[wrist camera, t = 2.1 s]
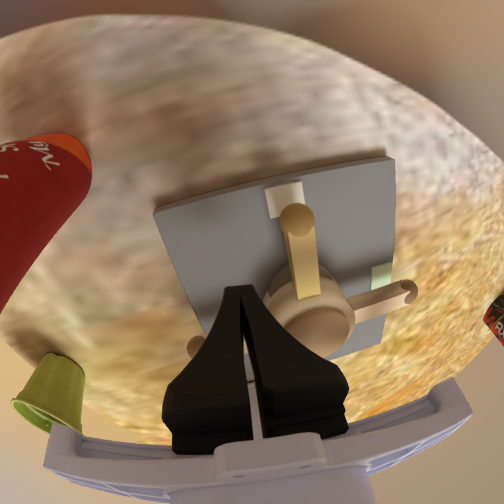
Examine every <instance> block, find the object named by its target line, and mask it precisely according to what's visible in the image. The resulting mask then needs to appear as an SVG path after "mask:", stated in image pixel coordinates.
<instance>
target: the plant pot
mask: <svg viewBox="0 0 504 504" xmlns="http://www.w3.org/2000/svg"><path fill="white" fill-rule="evenodd" d="M84 384H85V377H84V374H83V371H82V369H81V368H80V367H79V366H78V365H77V364H75V363H74V362H73V361H71V360H70V359H68V358H66V357H64V356H57V355H55V354H54V353H47V354H45V355H44V357H43V358H42V360H41V361H40V363H39V364H38V366H37V368H36V369H35V371H34V372H33V374H32V376H31V377H30V379H29V381H28V382H27V384H26V386H25V388H24V389H23V391H21V392H20V393H19V394H18V396H17V397H16V398H13V399H12V401H11V405H12V407H13V409H14V410H15V411H16V412H17V413H18V414H19V415H20V416H21V417H23V418H24V419H25V420H26V421H28V422H29V423H30V424H32V425H33V426H35V427H36V428H38V429H40V430H41V431H43V432H45V433H47V434H49V435H50V431H51V427H52V424H53V423H54V424H58V425H63V426H67V427H71V428H73V429H75V430H77V431H78V432H79V433H80V434H81V435H82V436H84V435H83V434H82V425H81V411H82V400H83V392H84Z"/></svg>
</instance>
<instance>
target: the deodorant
mask: <svg viewBox="0 0 504 504" xmlns="http://www.w3.org/2000/svg"><path fill="white" fill-rule="evenodd" d="M483 320H484V322H485V323H486V325H487V326H488V327H489V328H490V330H491V331H492V332H493V333H494V335H495V336H496V337H497V338H498V340H499V341H500V342H501V343H502V345H503V346H504V295H501V296H499V297H498V298H497V299H496V300H495V301H494V302H493V303H492V304H491V306H490V307H489V309H488V310H487V312H486V314H485V316H484V319H483Z"/></svg>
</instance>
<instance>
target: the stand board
mask: <svg viewBox="0 0 504 504" xmlns="http://www.w3.org/2000/svg"><path fill="white" fill-rule="evenodd" d="M292 203H302V204H305V205H307V206H308V207H309V208H310V209H311V210H312V212H313V214H314V217H315V224H314V229H315V238H316V247H317V257H318V263H320V264H322V265H323V266H324V267H325V268H326V269H327V271H328V272H329V274H330V275H331V276H332V277H333V278H334V279H335V280H336V282H337V284H338V285H339V287H340V289H341V290H342V292H343V294H344V295H345V297H346V299H347V298H348V297H351V296H354V295H358V294H361V293H364V292H367V291H370V290H373V289H376V288H379V287H382V286H385V285H388V284H390V281H391V272H392V261H393V249H394V233H395V204H396V182H395V159H392V158H390V157H388V156H382V157H375V158H368V159H362V160H355V161H349V162H343V163H338V164H332V165H327V166H321V167H316V168H311V169H306V170H301V171H296V172H291V173H286V174H282V175H277V176H273V177H268V178H264V179H259V180H255V181H251V182H247V183H243V184H239V185H235V186H231V187H227V188H223V189H219V190H215V191H211V192H208V193H204V194H200V195H197V196H193V197H190V198H186V199H183V200H179V201H176V202H172V203H169V204H166V205H162V206H159V207H156V209H155V210H154V212H153V216H154V219H155V222H156V224H157V227H158V229H159V232H160V234H161V237H162V239H163V242H164V244H165V247H166V249H167V252H168V254H169V256H170V259H171V261H172V263H173V266H174V268H175V270H176V273H177V275H178V277H179V280H180V282H181V284H182V286H183V288H184V291H185V293H186V295H187V297H188V299H189V302H190V304H191V306H192V308H193V310H194V312H195V314H196V316H197V319H198V321H199V323H200V325H201V327H202V329H203V331H204V333H209V332H210V330H211V328H212V325H213V323H214V321H215V319H216V316H217V314H218V311H219V308H220V305H221V302H222V298H223V294H224V288H225V287H228V286H238V285H248V284H252V285H253V286H254V288H255V290H256V292H257V294H258V295H259V297H260V299H261V300H262V302H263V299H264V296H265V294H266V292H267V290H268V285H269V283H270V280H271V279H272V277H273V276H274V274H275V273H276V272H277V271H278V270H279V269H281V268H282V267H283V266H285V265H287V264H289V259H288V253H287V247H286V242H285V236H284V232H283V231H282V229H281V227H280V224H279V217H280V214H281V212H282V210H283V209H284V208H285V207H286V206H287V205H289V204H292ZM385 316H386V313H385V314H383V315H380V316H377V317H374V318H371V319H368V320H365V321H363V322H360V323H357V324H355V326H354V329H353V331H352V333H351V335H350V336H349V338H348V339H347V340H346V341H345V342H344V344H343V345H342V346H341V347H340V348H339V349H337V350H336V351H335V352H333V353H332V354H330V355H328V356H326V357H324V359H326V360H328V361H329V360H332V359H336V358H339V357H342V356H345V355H348V354H351V353H354V352H357V351H360V350H363V349H365V348H368V347H371V346H374V345H376V344H379V343H381V339H382V333H383V328H384V322H385ZM244 364H245V371H246V378H247V381H251V380H254V375H253V370H252V366H251V362H250V358H249V354H248V353H246V354H244Z"/></svg>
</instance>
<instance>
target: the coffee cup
mask: <svg viewBox="0 0 504 504" xmlns="http://www.w3.org/2000/svg"><path fill="white" fill-rule="evenodd" d="M91 179H92V168H91V162H90V158H89V156H88V153H87V151H86V149H85V148H84V146H83V145H82V144H81V143H80V142H79V141H78V140H77V139H76V138H74V137H73V136H70V135H68V134H63V133H54V134H46V135H40V136H35V137H30V138H26V139H21V140H17V141H13V142H9V143H5V144H2V145H0V314H1V312H2V310H3V308H4V307H5V305H6V303H7V302H8V300H9V298H10V297H11V295H12V294H13V292H14V290H15V289H16V287H17V286H18V284H19V283H20V281H21V280H22V278H23V277H24V275H25V274H26V272H27V271H28V270H29V268H30V267H31V265H32V264H33V263H34V261H35V260H36V258H37V257H38V256H39V254H40V253H41V252H42V250H43V249H44V248H45V247H46V245H47V244H48V243H49V241H50V240H51V239H52V238H53V236H54V235H55V234H56V233H57V231H58V230H59V229H60V228H61V227H62V225H63V224H64V223H65V222H66V221H67V219H68V218H69V217H70V216H71V215H72V213H73V212H74V211H75V210H76V209H77V207H78V206H79V205H80V204H81V203H82V201H83V200H84V198H85V197H86V195H87V193H88V191H89V188H90V185H91Z"/></svg>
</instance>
